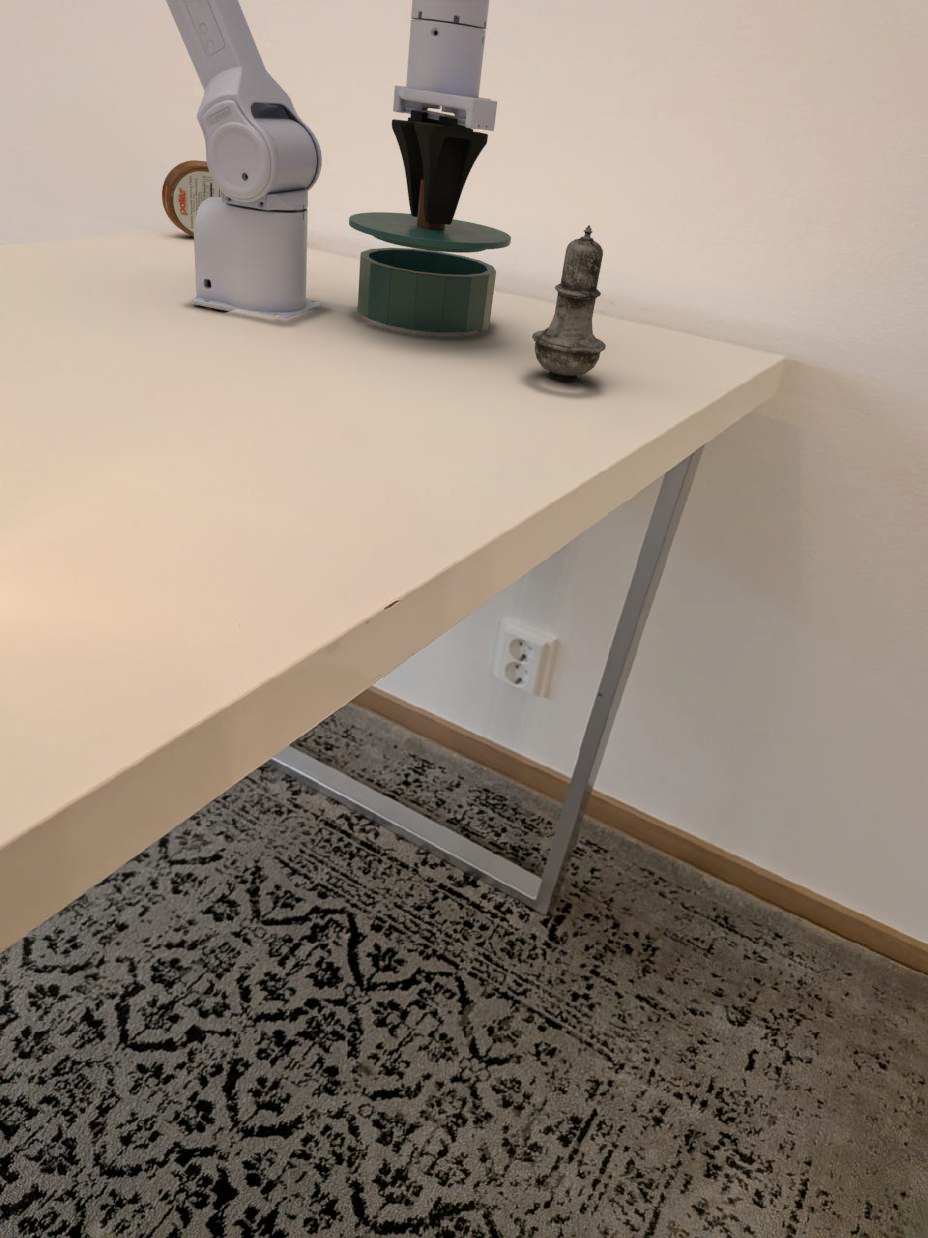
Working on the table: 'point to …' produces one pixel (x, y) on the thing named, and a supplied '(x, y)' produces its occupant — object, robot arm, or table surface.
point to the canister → (425, 290)
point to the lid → (429, 231)
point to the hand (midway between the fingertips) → (431, 220)
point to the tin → (187, 193)
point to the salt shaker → (573, 315)
